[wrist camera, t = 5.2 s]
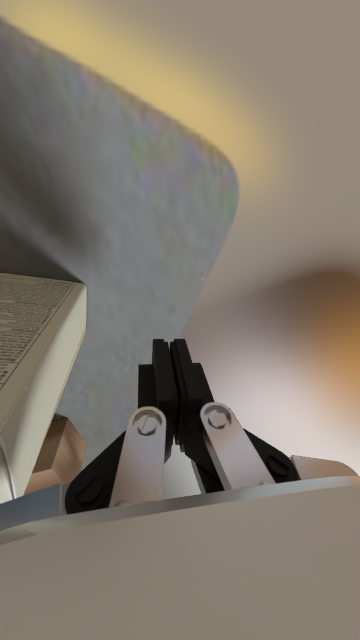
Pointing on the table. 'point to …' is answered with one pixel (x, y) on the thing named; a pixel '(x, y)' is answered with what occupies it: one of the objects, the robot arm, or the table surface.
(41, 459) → the walnut block
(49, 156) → the table surface
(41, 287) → the skincare box
